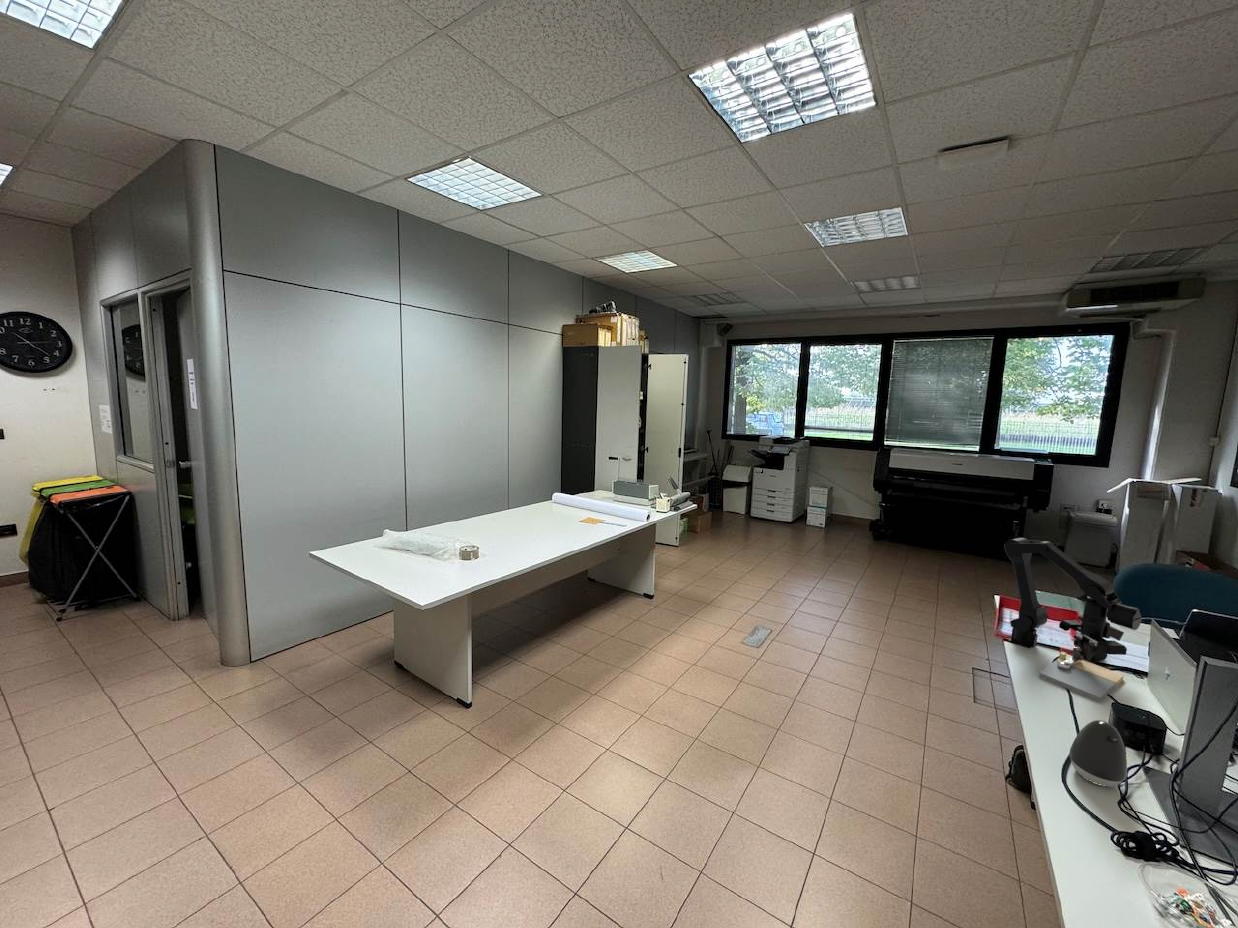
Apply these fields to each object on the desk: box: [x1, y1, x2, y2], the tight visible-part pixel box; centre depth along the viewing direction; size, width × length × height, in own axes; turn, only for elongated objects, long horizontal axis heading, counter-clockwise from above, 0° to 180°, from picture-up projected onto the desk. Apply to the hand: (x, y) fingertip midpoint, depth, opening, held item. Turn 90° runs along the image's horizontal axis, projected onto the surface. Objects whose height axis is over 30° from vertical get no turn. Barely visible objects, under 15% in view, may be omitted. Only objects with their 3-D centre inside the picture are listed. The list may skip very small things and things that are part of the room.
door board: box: [1038, 651, 1125, 703], centre depth 162 cm, size 15×22×4 cm
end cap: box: [1073, 633, 1108, 663], centre depth 175 cm, size 10×7×7 cm
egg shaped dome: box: [1069, 720, 1128, 788], centre depth 121 cm, size 10×10×15 cm
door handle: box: [1057, 647, 1084, 670], centre depth 167 cm, size 12×3×4 cm, turn 115°
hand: (1087, 660), depth 166 cm, fingers closed
